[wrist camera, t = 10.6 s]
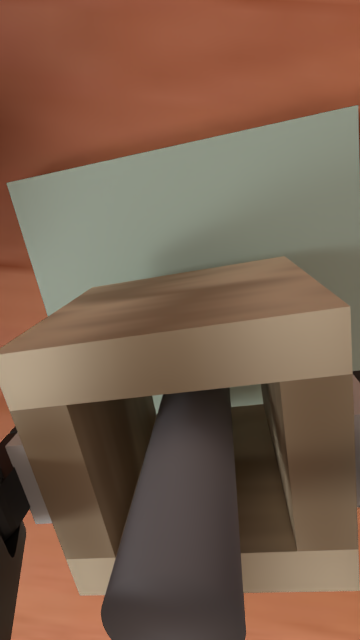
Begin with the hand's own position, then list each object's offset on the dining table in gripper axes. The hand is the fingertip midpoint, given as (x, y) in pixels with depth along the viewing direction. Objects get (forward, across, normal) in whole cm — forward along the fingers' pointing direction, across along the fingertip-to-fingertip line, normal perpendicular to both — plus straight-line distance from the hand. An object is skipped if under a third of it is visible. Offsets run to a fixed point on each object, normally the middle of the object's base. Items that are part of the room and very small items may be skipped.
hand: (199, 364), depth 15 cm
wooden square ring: (0, 0, 0) cm, 0 cm away
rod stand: (+4, 0, 0) cm, 4 cm away
